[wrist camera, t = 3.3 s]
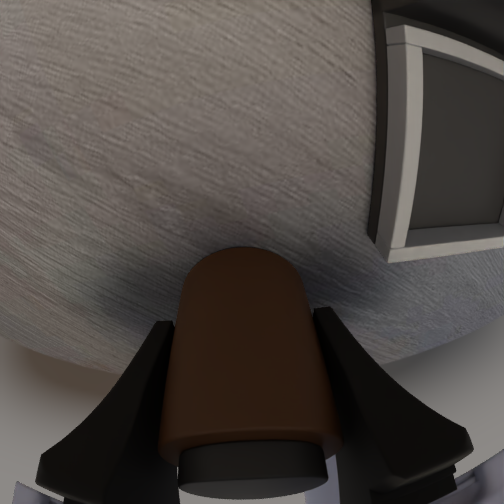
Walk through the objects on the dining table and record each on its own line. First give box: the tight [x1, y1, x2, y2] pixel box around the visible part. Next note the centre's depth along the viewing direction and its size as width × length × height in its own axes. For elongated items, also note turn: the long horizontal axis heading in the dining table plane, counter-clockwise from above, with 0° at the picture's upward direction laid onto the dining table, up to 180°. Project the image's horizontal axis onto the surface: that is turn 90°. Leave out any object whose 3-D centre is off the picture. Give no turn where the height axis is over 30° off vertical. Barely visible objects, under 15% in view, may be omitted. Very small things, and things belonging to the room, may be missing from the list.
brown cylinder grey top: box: [157, 247, 344, 499], centre depth 9 cm, size 5×5×8 cm
